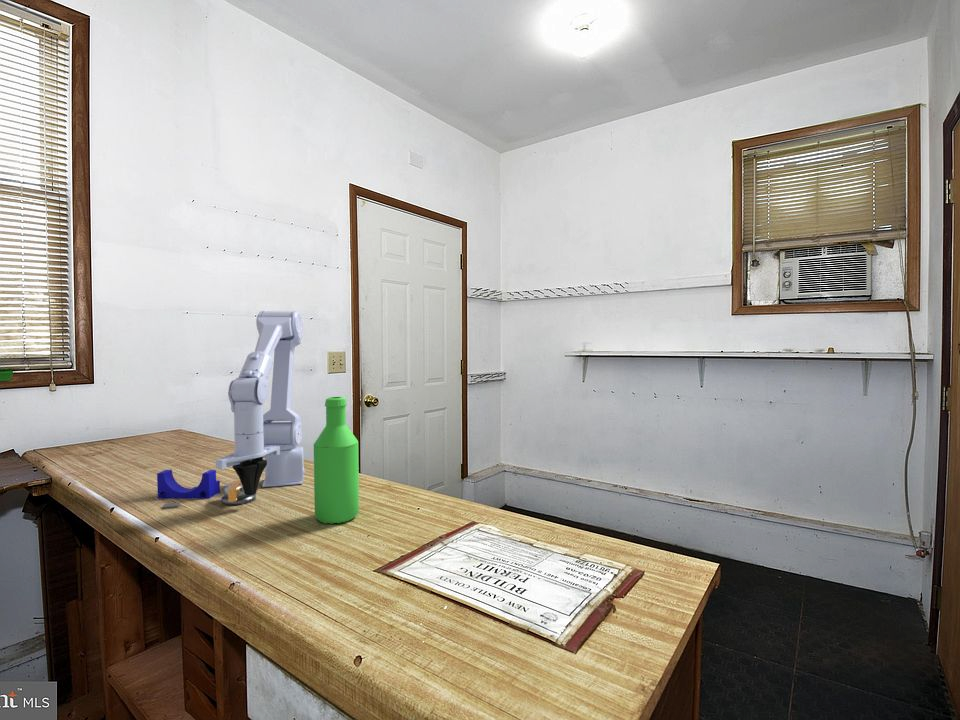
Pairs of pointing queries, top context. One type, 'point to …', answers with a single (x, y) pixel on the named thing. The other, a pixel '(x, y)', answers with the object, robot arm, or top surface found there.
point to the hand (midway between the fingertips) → (250, 494)
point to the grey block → (170, 505)
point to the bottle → (336, 467)
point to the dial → (234, 491)
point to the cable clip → (174, 490)
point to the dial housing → (239, 500)
